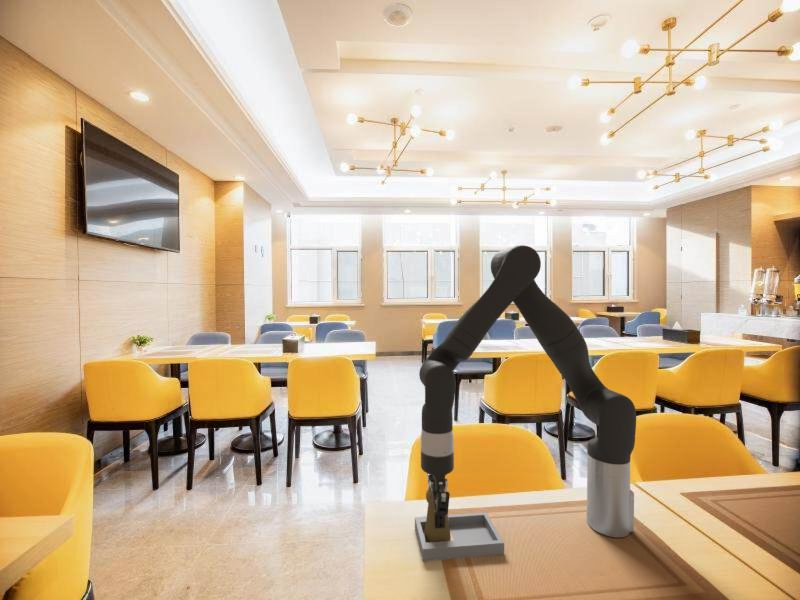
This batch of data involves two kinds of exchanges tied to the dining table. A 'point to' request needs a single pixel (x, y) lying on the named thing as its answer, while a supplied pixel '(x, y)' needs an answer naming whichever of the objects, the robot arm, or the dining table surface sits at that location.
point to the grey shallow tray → (462, 538)
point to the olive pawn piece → (430, 530)
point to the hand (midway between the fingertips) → (437, 521)
